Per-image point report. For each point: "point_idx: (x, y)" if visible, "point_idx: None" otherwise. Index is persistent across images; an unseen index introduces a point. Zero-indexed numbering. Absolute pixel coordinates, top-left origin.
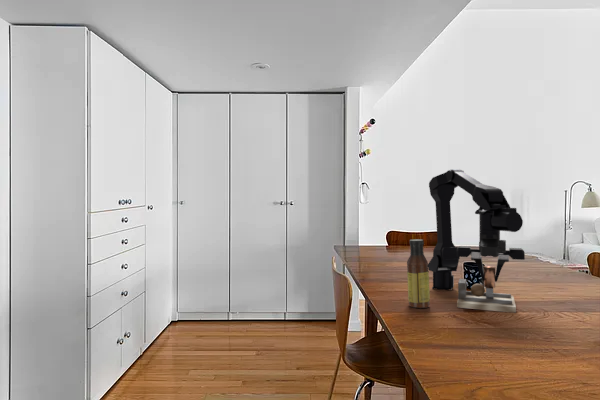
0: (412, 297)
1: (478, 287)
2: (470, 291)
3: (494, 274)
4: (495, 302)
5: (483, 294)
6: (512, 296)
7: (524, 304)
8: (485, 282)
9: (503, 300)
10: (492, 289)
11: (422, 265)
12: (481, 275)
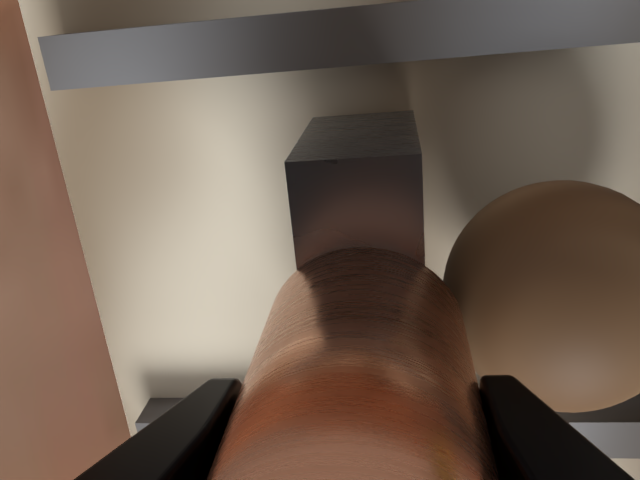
0: None
1: (567, 229)
2: (636, 442)
3: (212, 474)
4: (274, 13)
5: None
6: None
7: (47, 357)
8: (443, 315)
9: (153, 27)
10: (301, 154)
11: None
12: (573, 436)
